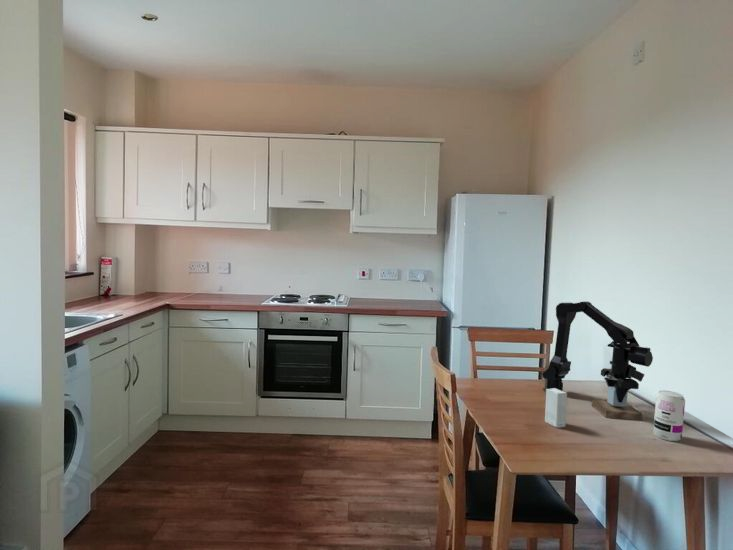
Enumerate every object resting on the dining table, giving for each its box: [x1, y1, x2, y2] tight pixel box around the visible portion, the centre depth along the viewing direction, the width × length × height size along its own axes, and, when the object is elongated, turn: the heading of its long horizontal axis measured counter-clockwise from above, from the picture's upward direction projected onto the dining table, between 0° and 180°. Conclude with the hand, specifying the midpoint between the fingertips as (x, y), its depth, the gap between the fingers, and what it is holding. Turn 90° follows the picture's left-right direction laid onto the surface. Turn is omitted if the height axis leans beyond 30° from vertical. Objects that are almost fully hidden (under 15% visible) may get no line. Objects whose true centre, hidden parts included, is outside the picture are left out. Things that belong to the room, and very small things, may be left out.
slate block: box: [606, 385, 629, 407], centre depth 182 cm, size 5×5×6 cm
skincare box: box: [544, 388, 568, 428], centre depth 166 cm, size 6×4×12 cm
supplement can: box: [652, 390, 686, 442], centre depth 159 cm, size 8×8×15 cm
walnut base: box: [591, 399, 643, 421], centre depth 182 cm, size 13×13×2 cm
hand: (616, 400), depth 182 cm, fingers closed on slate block, 5 cm apart
